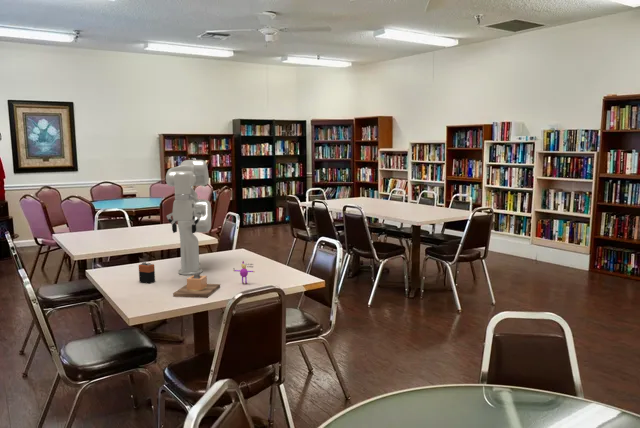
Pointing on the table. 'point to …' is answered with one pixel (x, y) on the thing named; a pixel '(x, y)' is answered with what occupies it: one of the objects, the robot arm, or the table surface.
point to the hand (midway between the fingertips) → (184, 232)
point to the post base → (196, 293)
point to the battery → (146, 273)
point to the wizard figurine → (244, 271)
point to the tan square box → (196, 283)
